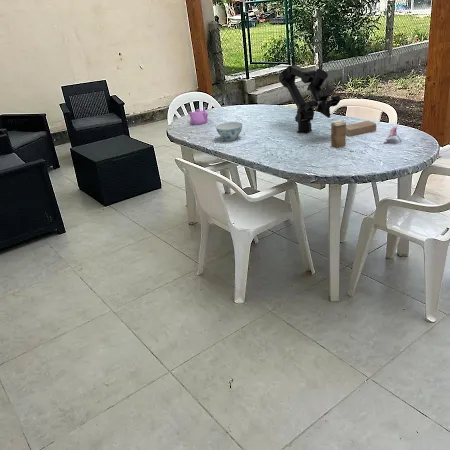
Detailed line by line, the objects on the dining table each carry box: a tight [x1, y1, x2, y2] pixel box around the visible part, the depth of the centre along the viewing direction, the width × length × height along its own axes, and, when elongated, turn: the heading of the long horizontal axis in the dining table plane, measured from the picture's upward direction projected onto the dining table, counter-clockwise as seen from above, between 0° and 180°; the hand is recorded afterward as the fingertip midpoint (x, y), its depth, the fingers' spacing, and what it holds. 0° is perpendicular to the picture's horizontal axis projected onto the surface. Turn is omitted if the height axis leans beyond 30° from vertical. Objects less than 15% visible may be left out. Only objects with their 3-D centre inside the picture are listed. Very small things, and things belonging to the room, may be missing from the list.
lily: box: [383, 121, 402, 143], centre depth 218 cm, size 12×12×10 cm
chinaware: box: [215, 121, 243, 142], centre depth 252 cm, size 15×15×8 cm
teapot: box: [188, 106, 209, 126], centre depth 292 cm, size 12×14×9 cm
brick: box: [346, 120, 377, 137], centre depth 238 cm, size 17×8×5 cm, turn 105°
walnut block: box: [330, 119, 347, 149], centre depth 220 cm, size 5×5×12 cm
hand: (329, 117), depth 224 cm, fingers closed
